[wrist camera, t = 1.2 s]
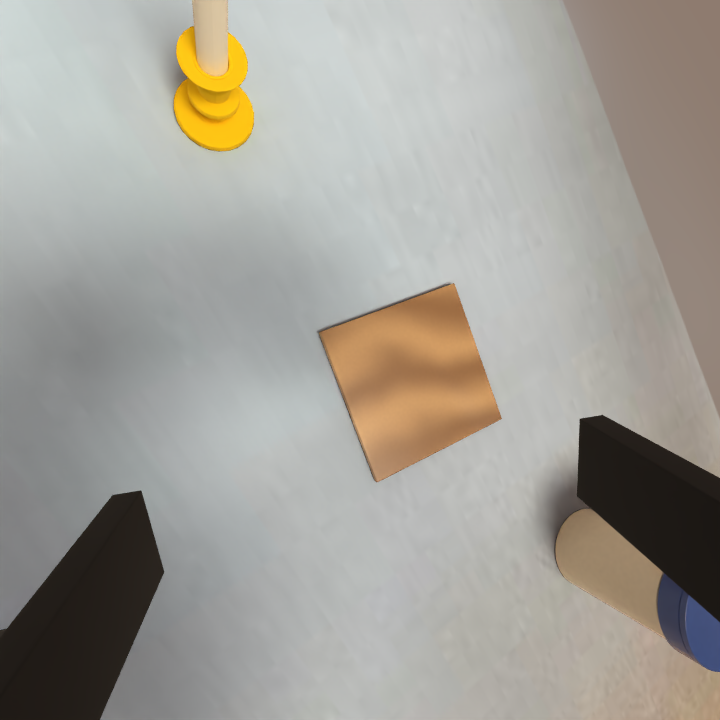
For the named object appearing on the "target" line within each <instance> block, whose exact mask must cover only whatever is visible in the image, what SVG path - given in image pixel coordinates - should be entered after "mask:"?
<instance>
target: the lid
mask: <svg viewBox="0 0 720 720" xmlns="http://www.w3.org/2000/svg"><path fill="white" fill-rule="evenodd" d="M657 608H658V618H659V623H660V626H661V629H662V632H663V634H664V636H665V638H666V640H667V641H668V643H669V644H670V645H671V646H672V647H673V648H674V649H675V650H677V651H678V652H680V653H681V654H683V655H685V656H686V657H688V658H690V659H691V660H693V661H695V662H696V663H698V664H700V665H701V666H703V667H705V668H706V669H708V670H711V671H715V672H720V622H719V621H718V620H717V619H715V618H714V617H713V616H712V615H711V614H710V613H709V612H707V611H706V610H705V609H704V608H703V607H702V606H701V605H700V604H698V603H697V602H696V601H695V600H694V599H693V598H692V597H691V596H689V595H688V594H687V593H686V592H685V591H684V590H683V589H681V588H680V587H679V586H678V585H677V584H676V583H675V582H674V581H672V580H671V579H670V578H669V577H668V576H667V575H666V574H665V573H664V575H663V577H662V580H661V583H660V587H659V592H658V601H657Z"/></svg>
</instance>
